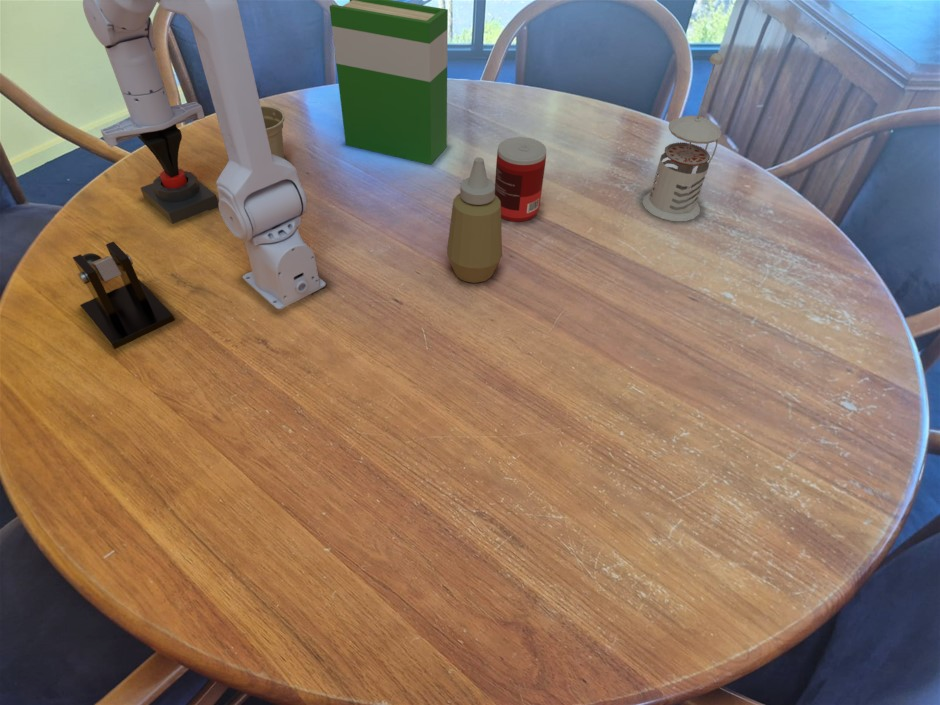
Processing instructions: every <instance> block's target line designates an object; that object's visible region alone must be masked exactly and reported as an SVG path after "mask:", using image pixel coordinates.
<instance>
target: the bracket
mask: <svg viewBox="0 0 940 705" xmlns="http://www.w3.org/2000/svg"><path fill="white" fill-rule="evenodd" d="M105 246H106V249H107V250H108V253H109V255H110V257H113V259H114V261H115V263H116V264H117V266H118V268H119V269H120V271H121V273H122V275H120V276H119V277H120V278H121V280H122V283H123V285H122V286H120V287H118V288H115V289H113V290H110V291H109V292H108V291H106V289H105V287H104V285H103V283H102V281H101V280H100V279H99V277H98V275H97V273H96V271H95V270H94V269H93V268H92V266H91V265H90V264H89V263H88V262H87V261H86V260H85V258H84V257H83V255H82V254H80V253H79V254H77V255H74V256H73V257H72V260H73V262H74V263H75V265H76V267H77V269H78V271H79V273H78V277H79V279H80V280H81V282H82V284H84V285H86V286H87V288H88V290H89V292H90V294H91V296H92V299H89V300H88V301H86V302H83V303H81V304H79V305H80V308H81V310H82V312H84V314H85V315H86V317H87V318H88V319H89V320H90V321H91V322H92V324H94V326H95V327H96V328H97V330H98V331H99V332H100V334H101V335H102V336H103V338H105V339H106V341H107V342H108V343H109V345H110V346H111V347H112V348H113V349H114V350H116V349H118V348H120V347H122V346H125V345H127V344H129V343H131V342H133V341H135V340H137V339H139V338H141V337H143V336H146V335H147V334H150V333H152V332H154V331H156V330H158V329H160V328H163V327H164V326H166V325H168V324H170V323H173V322H175V321H176V319H175V316H174V315H173V313H171V311H170V310H169V309H168V308H167V307H166V306H165V305H164V304H163V303H162V302H161V301H160V300H159V299H158V297H156V295H155V294H154V293H153V292H152V291H151V289H149V288H148V287H147V286H146V285H145V283H143V282H142V280H140V279H139V278H138V275H137V273H136V271H135V269H134V262H133V260H132V258H131V256H130V255H129V254H128V253H125V252H124V251H123V250H122V248H120V246H118V245H117V243H115V241H111V242H108V243H106V244H105Z"/></svg>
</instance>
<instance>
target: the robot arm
mask: <svg viewBox="0 0 940 705" xmlns="http://www.w3.org/2000/svg"><path fill="white" fill-rule="evenodd" d="M157 4H158V5H159V6H160V7H161V8H162V9H163V10H164V11H166V12H170V13H174V14H178V15H182V16H184V17H185V18H186V19H187V20H188V22H189V23H190V25H191V29H192V33H193V36H194V40H195V43H196V47H197V50H198V54H199V57H200V58H199V59H200V61H201V66H202V69H203V72H204V75H205V78H206V83H207V87H208V90H209V93H210V97H211V101H212V105H213V108H214V111H215V115H216V119H217V122H218V127H219V129H220V134H221V137H222V140H223V144H224V148H225V151H226V154H227V155H226V156H227V158H228V161H227V163H226V165H225V167H224V168H223V170H222V171H221V173H220V174H219V176H218V177H217V179H216V181H215V185H216V191H217V195H218V203H219V207H218V211H219V214H220V216H221V219H222V221H223V223H224V225H225V226H226V227H227V229H228V230H229V232H230V233H231V234H232V235H233V236H234V237H236V238H237V239H239V240H241V241H243V243H244V248H245V251H246V254H247V258H248V262H249V265H250V269H251V271H249V272H247V273H245V274H244V275H242V280H243V281H244V282H245V283H246V284H248V285H249V286H250V287H251V288H252V289H253V290H254V291H255V292H257V293H258V294H259V295H260V296H261V297H262V298H263V299H265V300H266V302H268V303H269V304H270V305H271V306H272V307H274V309H276V310H283V309H284V308H286V307H288V306H291V305H292V304H294V303H296V302H298V301H300V300H302V299H304V298H306V297H308V296H310V295H312V294H313V293H315V292H318V291H319V290H321V289H324V288H325V287H326V284H327V283H326V282H325V281H324V280H323V279H322V278H321V277H320V276H319V271H318V267H317V260H316V256H315V253H314V250H313V249H312V248H311V247H310V246H309V245H308V244H307V243H306V242H305V241H304V240H303V238H302V236H301V234H300V231H299V228H298V227H299V226H300V225H302V223H303V222H302V218H301V217H302V216H304V215H305V214H306V212H307V209H308V197H307V194H306V191H305V189H304V187H303V185H302V183H301V181H300V178H299V174H298V170H297V168H296V167H295V166H294V165H293V164H292V163H291V162H289V160H287V159H286V158H284V159H283V158H281V157H279V156H276V155H273V154H271V150H270V145H269V141H268V136H267V132H266V127H265V123H264V119H263V114H262V110H261V106H262V105H261V101H260V96H259V93H258V87H257V84H256V79H255V74H254V71H253V65H252V62H251V57H250V56H251V55H250V52H249V48H248V43H247V38H246V35H245V29H244V24H243V21H242V17H241V12H240V8H239V3H238V0H82V8H83V12H84V16H85V18H86V21H87V22H88V25H89V28H90V30H91V31H92V33H93V35H94V36H95V38H96V39H97V40H98V42H99V43H100V44H101V45H102V46H104V49H105V52H106V54H107V57H108V60H109V62H110V65H111V69H112V70H113V74H114V76H115V78H116V82H117V84H118V87H119V89H120V92H121V95H122V98H123V100H124V103H125V106H126V108H127V109H126V110H127V111H128V114H129V116H128V117H127V118H124V119H122V120H120V121H117V122H115V123H114V124H112V125H110V126H108V127H105V128H102V129H100V133H101V135H102V137H103V140H104V142H105V144H107V145H108V146H109V147H111V148H114V147H116V146H118V145H119V143H121V142H125V141H128V140H131V139H133V138H134V139H135V138H138V139H139V140H140V141H141V142H142V143H143V144H144V145H145V146H146V147H147V148H148V150H149V151H150V152H151V153H152V154H153V156H154V157H155V158H156V160H157V161H158V162H159V165H160V166H161V168H162V169H163V171H165V173H166V174H167V175H168V176H170V177H174V176H177V175H179V171H178V168H179V151H180V145H181V142H182V139H183V135H182V130H181V129H179V128H178V127H177V125H179V124H182V123H186V122H188V121H192V120H195V119H197V120H202V119H204V118H206V116H205V113H204V110H203V107H202V105H201V104H200V103H198V102H197V101H192V102H189V103H183V104H176V105H171V103H170V100H169V96H168V94H167V91H166V88H165V84H164V82H163V78H162V75H161V71H160V68H159V65H158V62H157V60H156V56H155V53H154V52H155V51H156V50H157V49H156V48H157V46H156V44H155V40H154V25H153V21H152V18H151V14H152V13H153V11H154V9H155V7H156V5H157Z"/></svg>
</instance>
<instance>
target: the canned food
mask: <svg viewBox="0 0 940 705" xmlns="http://www.w3.org/2000/svg"><path fill="white" fill-rule="evenodd" d="M496 152H497V153H496V164H495V177H494V178H495V180H494V184H495V195H496V196H497V197H498V198H499V200H500V202H501V219H503V220H505V221H509V222H517V223H520V222H526V221H529V220H531V219H534V217H536V215H537V214H538V212H539V209H540V205H541V199H542V190H543V184H544V177H545V170H546V161H547V147H546V145H544V143H542V142H541V141H539V140H538V139H535V138H531V137H527V136H515V137H514V136H513V137H509V138H506V139H504V140H502V141H501V142H500V143H499V144H498V147H497V151H496Z"/></svg>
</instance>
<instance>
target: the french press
mask: <svg viewBox="0 0 940 705" xmlns="http://www.w3.org/2000/svg"><path fill="white" fill-rule="evenodd" d="M723 60H724V57H723V55H722V54H721V53H718V52H715V53H713V54H711V55H710V57H709V60H708V63H710V64H712V69H711V72H710V75H709V78H708V83H707V85H706V89H705V92H704V95H703V97H702V98H703V99H702V101H701V105H700V108H699V111H698V113H697V114H698V115H692V114H691V115H685V116H681V117H676V118H673V119H672V120H671V121H669V123H668V130H669V131H670V133H671V135H673V136H674V137H675V138H677V139H678V140H681V141H682V142H673V143H670V144H668V145H666V146H665V148H664V152H663V153H662V154H661V155H660V157H659V162H658V165H657V169H656V173H655V176H654V180H653V182H652V188H651V191H649V192H648V193H647V194H644V196H643V198H642V201H641V203H642V205H643V207H644V209H645V210H646V211H647V212H649V213H650V215H653V216H655V217H657V218H660V219H662V220H667V221H671V222H687V221H690V220H694V219H695V218H697V217H698V216H699V215H700V211H701V207H700V205H699V203H698V200H699V196H700V193H701V190H702V187H703V183H704V181H705V179H706V175H707V172H708V170H709V166H710V164H711V161H712V160H713V158H714V156H715V154H716V151H717V148H718V144H719V143H718V142H719V141H718V140H719V139H720V138H721V136H722V131H721V129H720V127H719V126H718V125H717V124H716V123H715V122H712V121H711V120H709V119H708V118H706V117H703V116H701V113H702V109H703V106H704V103H705V99H706V96H707V93H708V89H709V86H710V83H711V80H712V77H713V73H714V71H715V67H716V65H722V64H723ZM683 141H684V142H683ZM714 142H715V147H714V149H713V151H712V154H711V155H710V153H709V152H708V148H709V144H711V143H714ZM698 144H699V145H705V148H704V147H701V146H699V145H698ZM665 159H667V160H665ZM663 160H665V161H663ZM667 164H668V165H674V166H676V167H677V168H675V167H672V166H666V165H667ZM696 167H697V169H696V171H695V173H693V170H694V169H695V168H696ZM689 186H691V187H690V188H688V187H689Z"/></svg>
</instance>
